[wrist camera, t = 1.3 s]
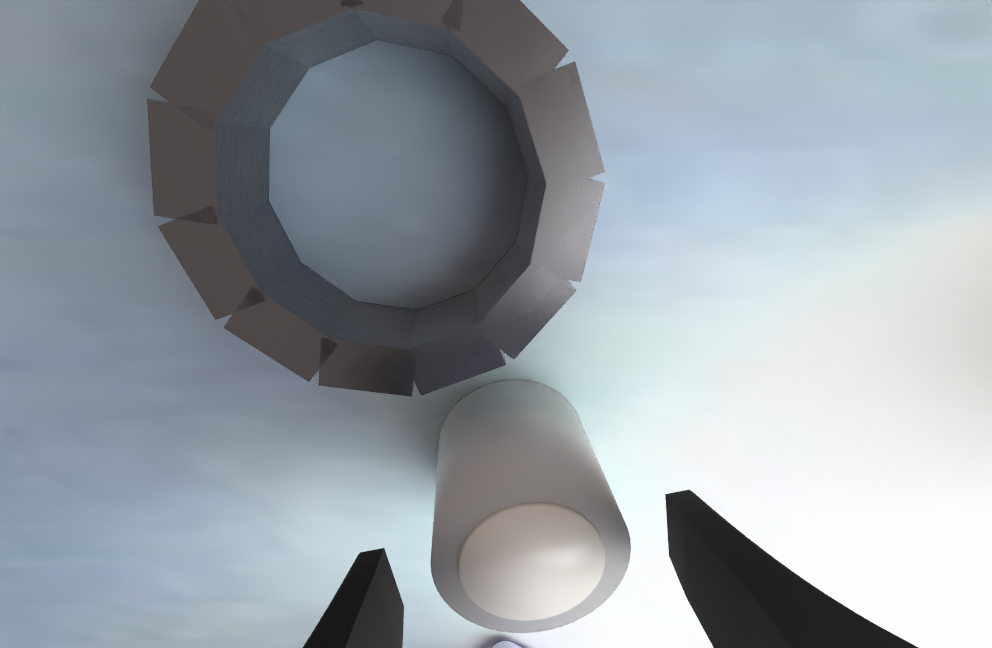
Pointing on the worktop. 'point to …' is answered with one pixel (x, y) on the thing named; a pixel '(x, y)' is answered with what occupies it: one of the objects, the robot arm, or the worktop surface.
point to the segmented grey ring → (261, 238)
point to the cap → (523, 512)
